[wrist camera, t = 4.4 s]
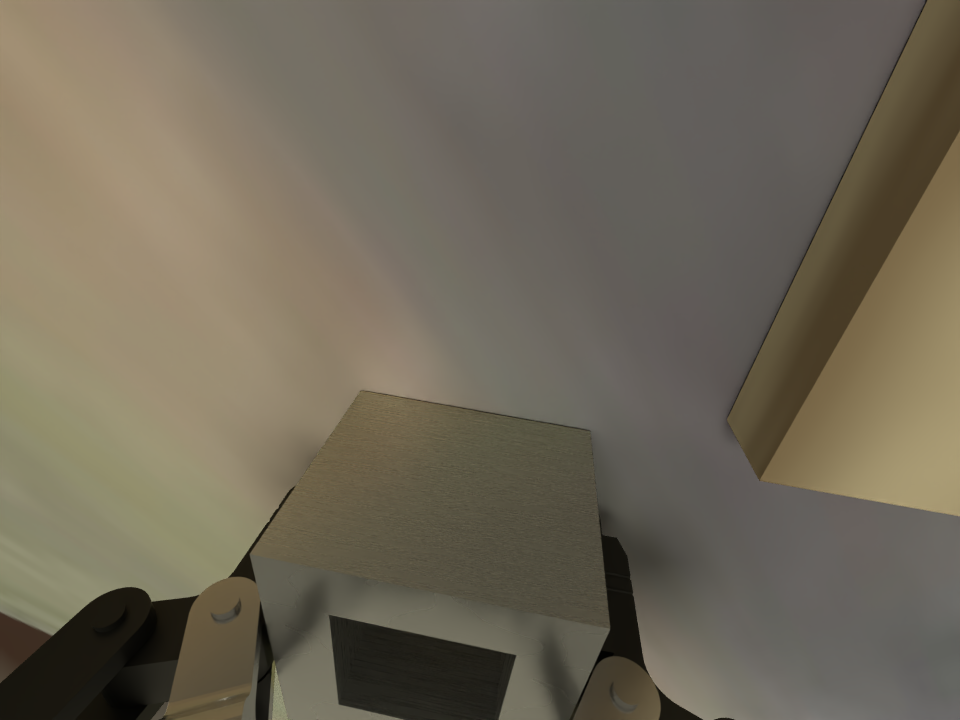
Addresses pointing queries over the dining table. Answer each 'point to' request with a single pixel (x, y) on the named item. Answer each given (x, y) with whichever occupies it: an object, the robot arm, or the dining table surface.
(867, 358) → the post block
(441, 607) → the collar
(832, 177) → the dining table surface
